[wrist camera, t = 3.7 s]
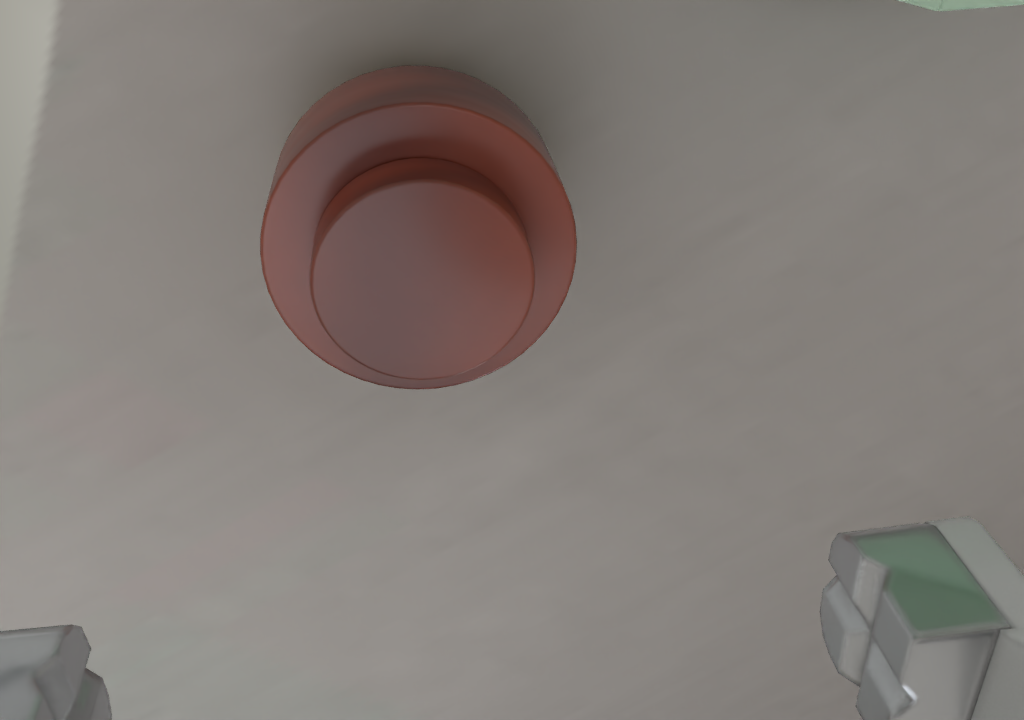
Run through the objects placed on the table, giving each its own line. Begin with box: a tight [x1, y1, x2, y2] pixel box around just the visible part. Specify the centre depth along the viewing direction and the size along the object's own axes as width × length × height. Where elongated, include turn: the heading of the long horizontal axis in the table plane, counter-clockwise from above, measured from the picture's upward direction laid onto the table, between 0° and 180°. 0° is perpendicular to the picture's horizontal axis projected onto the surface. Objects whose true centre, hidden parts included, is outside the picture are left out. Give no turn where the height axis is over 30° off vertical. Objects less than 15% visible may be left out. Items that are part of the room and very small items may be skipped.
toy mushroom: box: [260, 66, 577, 389], centre depth 21 cm, size 6×6×7 cm
